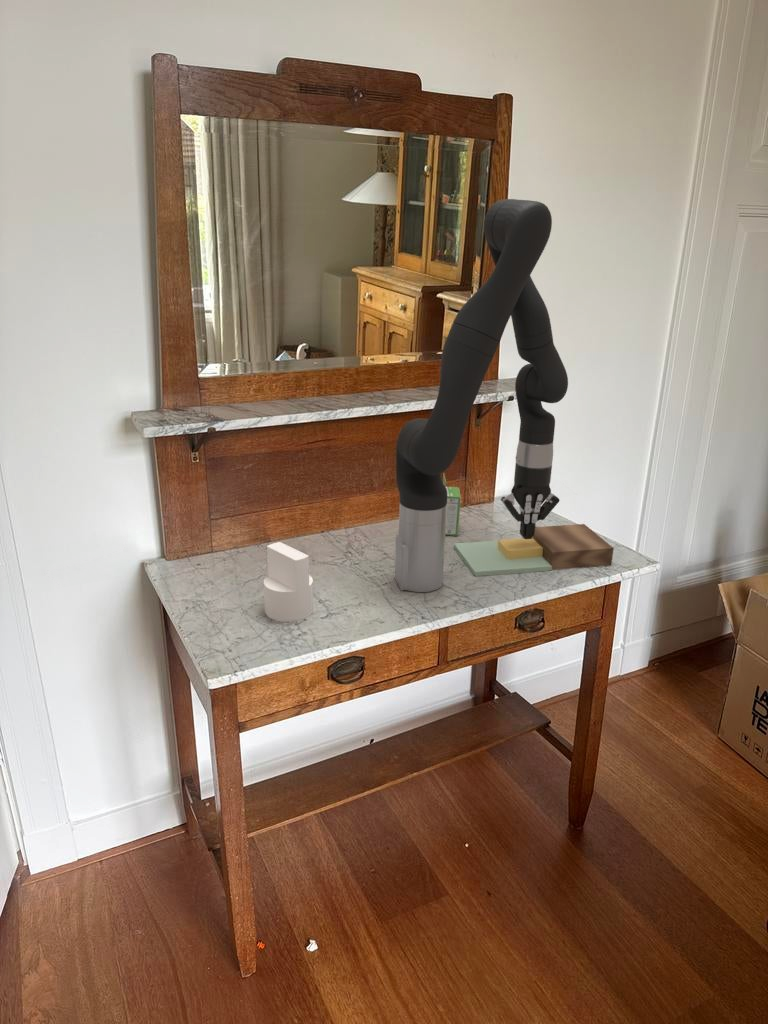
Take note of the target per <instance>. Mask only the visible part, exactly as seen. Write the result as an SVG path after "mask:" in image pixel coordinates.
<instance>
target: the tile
mask: <svg viewBox="0 0 768 1024" xmlns="http://www.w3.org/2000/svg"><path fill="white" fill-rule="evenodd" d="M497 541H498V549H499V550H500V551H501V553H502V554H503V555H504V556H505V557H506V558H507V559H518V558H531V557H542V555H543V548H542V547H541V546H540V545H539V544H538V543H537V542H536V541H535V540H534V539H533V538H532V539H524V538H523V537H521V538H520V537H519V538H507V539H505V538H504V539H498V540H497Z"/></svg>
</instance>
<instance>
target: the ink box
mask: <svg viewBox="0 0 768 1024" xmlns="http://www.w3.org/2000/svg"><path fill="white" fill-rule="evenodd" d="M442 476H443V477H442V482H443V484H444V486H445V487H446V490H447V513H446V531H445V536H449V535H450V536H451V537H458V536H459V525H460V516H461V515H460V514H461V500H462V496H461V494H460V493H461V492H460V487H457V486H447V480H446V475H445V472H443V475H442ZM450 536H449V537H450Z"/></svg>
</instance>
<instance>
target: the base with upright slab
mask: <svg viewBox="0 0 768 1024" xmlns="http://www.w3.org/2000/svg"><path fill="white" fill-rule="evenodd" d="M266 555H267V557H266V559H267V576H266V577H265V578H264V580H263V595H264V597H263V599H264V600H263V601H264V613H265V615H266V616H267V617H268V618H269V619H272V620H274V621H277V622H286V623H287V622H297V621H300V620H305V619H306V618H308V617H309V616H311V615H312V614H313V611H314V581H313V580H314V579H313V577H312V575H310V555H308V554H305V553H304V552H302V551H299V550H298V549H296V548H293V547H291V546H289V545H288V544H285V543H283V542H281V541H278V542H274V543H271V544H268V545H267V546H266Z"/></svg>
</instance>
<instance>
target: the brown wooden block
mask: <svg viewBox="0 0 768 1024" xmlns="http://www.w3.org/2000/svg"><path fill="white" fill-rule="evenodd" d="M532 538H533V539H534V540H535V541H536V542H537V543H538V544H539V545H540V546H541V547H542V548H543V555H542V557H543V558H544V559H545V560H546V561H547V562H548V563H549V564H550V565H551V566H552V570H563V569H575V568H576V569H577V568H589V567H602V566H611V565H612V562H613V555H614V547H613V546H612V545H610V543H608V542H607V541H606V540H604V539H603V538H602V537H601V536H600V535H598V534H597V533H596V532H595V531H593V530H592V528H590V527H589V526H587V525H586V524H585V523H580V524H579V523H578V524H566V525H564V524H563V525H561V524H560V525H551V526H550V525H549V526H545V525H544V526H535V533H534V536H532Z"/></svg>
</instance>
